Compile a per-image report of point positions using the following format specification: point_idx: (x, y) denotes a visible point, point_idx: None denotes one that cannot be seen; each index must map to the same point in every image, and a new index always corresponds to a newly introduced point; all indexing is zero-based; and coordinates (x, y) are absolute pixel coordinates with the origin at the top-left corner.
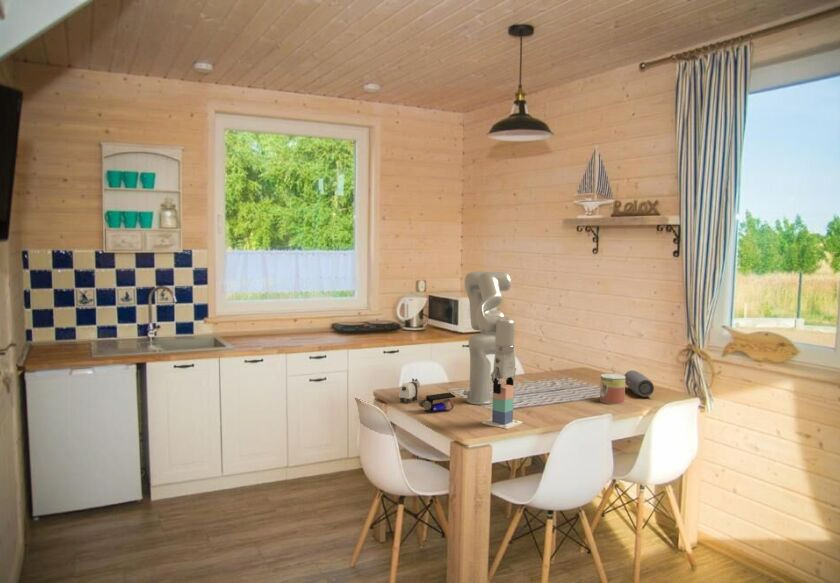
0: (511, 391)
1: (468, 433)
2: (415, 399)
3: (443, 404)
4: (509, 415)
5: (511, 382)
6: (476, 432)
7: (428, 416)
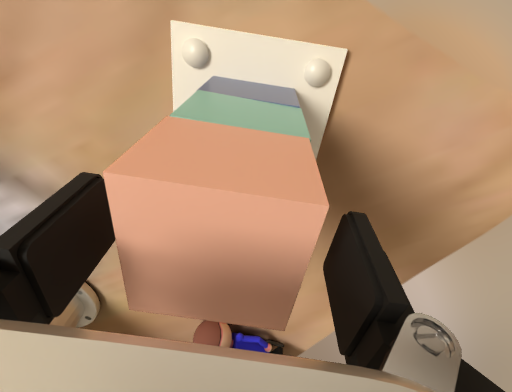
0: (186, 149)
1: (485, 179)
2: None
3: (236, 348)
4: (244, 90)
5: (50, 241)
6: (459, 158)
7: (314, 334)
